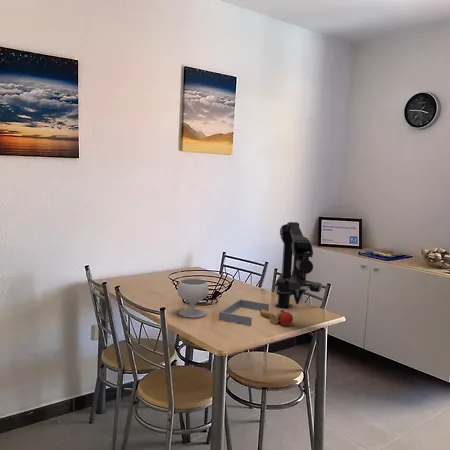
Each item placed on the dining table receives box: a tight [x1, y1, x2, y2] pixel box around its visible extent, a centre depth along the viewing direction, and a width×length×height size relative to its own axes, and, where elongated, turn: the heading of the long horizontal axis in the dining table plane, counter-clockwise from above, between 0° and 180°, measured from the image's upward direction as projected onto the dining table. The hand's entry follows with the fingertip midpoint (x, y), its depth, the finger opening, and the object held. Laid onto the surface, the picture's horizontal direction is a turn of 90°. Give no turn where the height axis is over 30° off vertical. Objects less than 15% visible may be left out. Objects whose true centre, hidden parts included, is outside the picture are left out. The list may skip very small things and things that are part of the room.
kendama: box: [259, 309, 294, 327], centre depth 203 cm, size 8×6×18 cm
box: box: [218, 298, 270, 327], centre depth 209 cm, size 24×15×4 cm, turn 156°
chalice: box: [176, 277, 210, 319], centre depth 207 cm, size 14×14×15 cm
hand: (297, 304), depth 199 cm, fingers closed
